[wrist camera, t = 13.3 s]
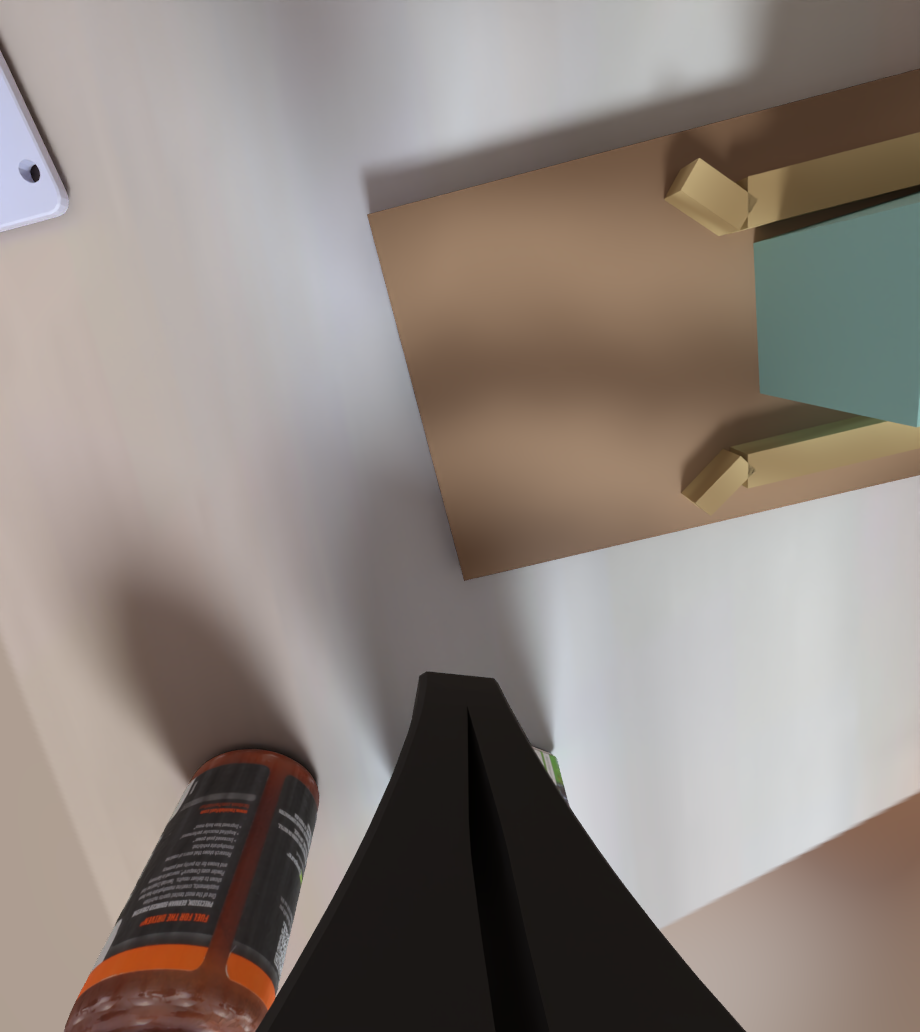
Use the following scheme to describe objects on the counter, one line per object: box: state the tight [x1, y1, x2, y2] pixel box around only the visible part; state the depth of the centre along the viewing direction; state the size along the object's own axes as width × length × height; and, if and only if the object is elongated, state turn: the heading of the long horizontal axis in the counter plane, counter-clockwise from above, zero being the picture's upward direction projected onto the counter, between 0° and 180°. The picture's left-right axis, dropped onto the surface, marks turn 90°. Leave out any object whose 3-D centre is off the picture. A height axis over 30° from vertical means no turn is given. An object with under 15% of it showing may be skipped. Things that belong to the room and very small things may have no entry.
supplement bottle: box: [64, 749, 319, 1032], centre depth 17 cm, size 6×6×11 cm
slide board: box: [367, 69, 920, 581], centre depth 14 cm, size 12×18×4 cm, turn 103°
